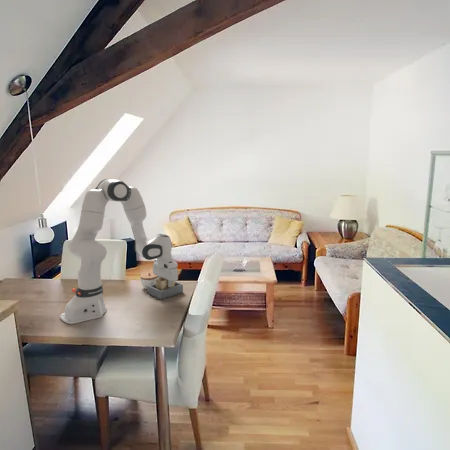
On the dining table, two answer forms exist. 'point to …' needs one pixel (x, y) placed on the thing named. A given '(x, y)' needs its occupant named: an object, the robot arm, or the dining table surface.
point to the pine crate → (163, 284)
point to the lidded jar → (148, 279)
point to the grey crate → (165, 291)
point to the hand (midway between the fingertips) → (165, 285)
